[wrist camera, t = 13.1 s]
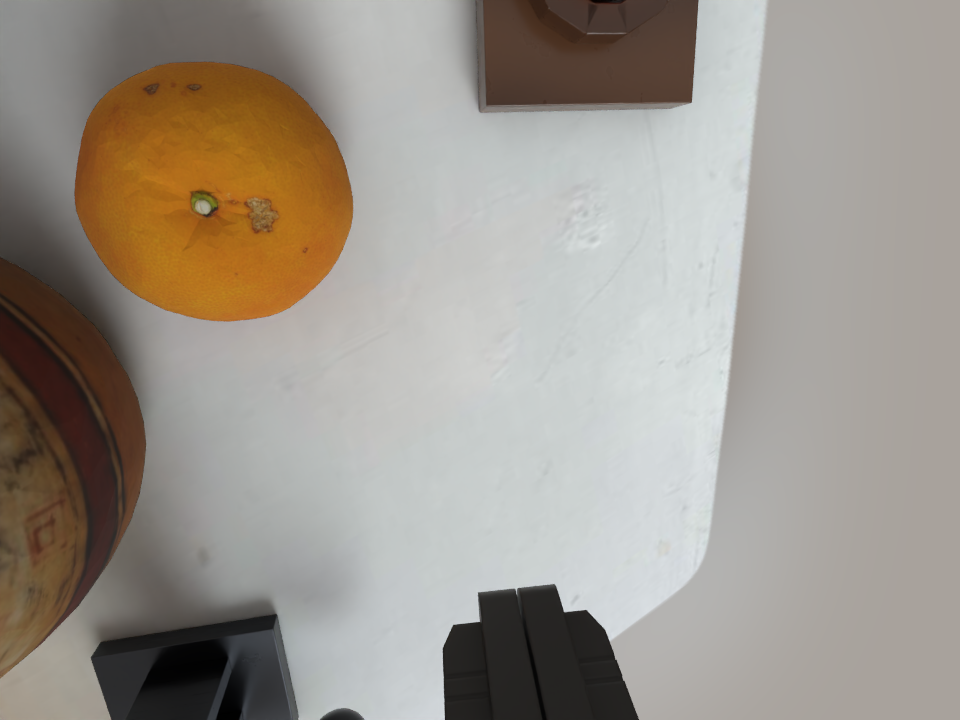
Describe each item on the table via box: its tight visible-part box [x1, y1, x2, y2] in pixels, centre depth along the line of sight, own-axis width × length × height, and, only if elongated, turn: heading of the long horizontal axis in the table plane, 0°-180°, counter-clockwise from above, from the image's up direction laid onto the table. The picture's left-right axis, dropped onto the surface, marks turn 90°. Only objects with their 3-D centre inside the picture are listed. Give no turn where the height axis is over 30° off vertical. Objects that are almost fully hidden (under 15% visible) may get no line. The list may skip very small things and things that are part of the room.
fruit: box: [75, 62, 353, 321], centre depth 24 cm, size 10×10×8 cm
